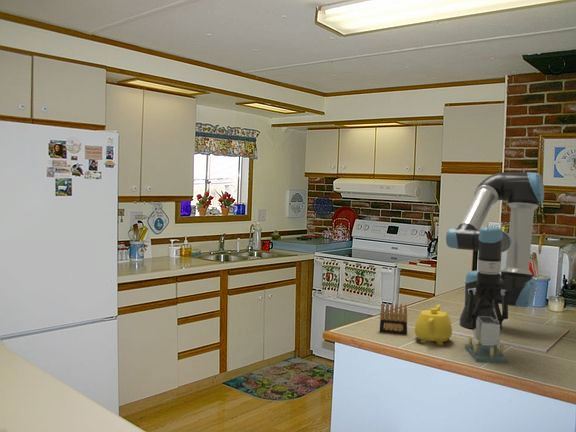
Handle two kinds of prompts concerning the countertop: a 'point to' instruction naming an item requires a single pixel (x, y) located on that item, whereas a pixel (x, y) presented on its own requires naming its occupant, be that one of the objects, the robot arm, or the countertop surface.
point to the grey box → (488, 330)
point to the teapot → (433, 326)
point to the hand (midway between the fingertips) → (485, 338)
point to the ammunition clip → (393, 320)
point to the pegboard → (486, 352)
